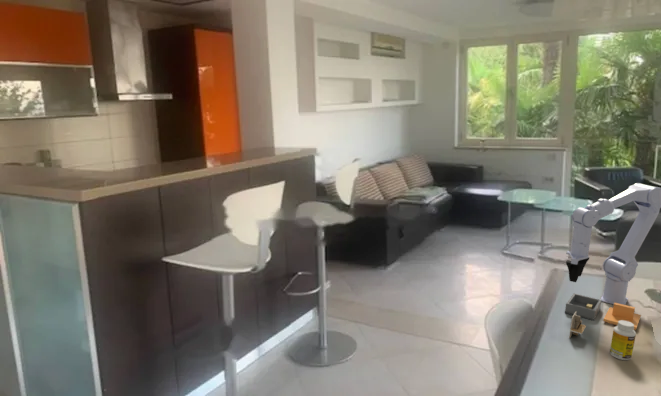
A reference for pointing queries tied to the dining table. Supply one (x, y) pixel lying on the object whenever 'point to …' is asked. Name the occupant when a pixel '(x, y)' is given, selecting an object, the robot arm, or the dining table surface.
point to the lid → (622, 315)
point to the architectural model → (576, 325)
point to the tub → (583, 306)
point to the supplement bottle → (623, 340)
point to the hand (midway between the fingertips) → (575, 278)
